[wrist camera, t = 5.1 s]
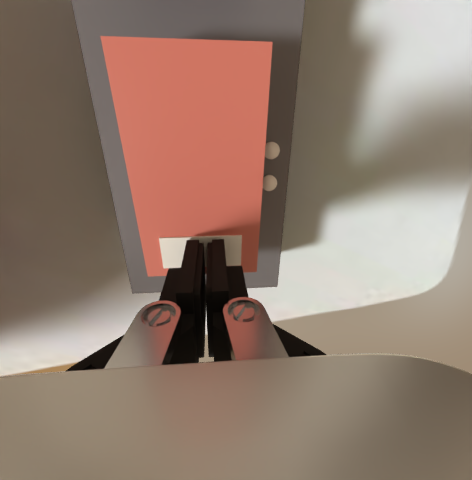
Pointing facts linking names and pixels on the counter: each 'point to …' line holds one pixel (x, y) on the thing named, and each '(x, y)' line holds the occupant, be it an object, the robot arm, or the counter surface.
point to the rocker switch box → (209, 28)
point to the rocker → (192, 142)
